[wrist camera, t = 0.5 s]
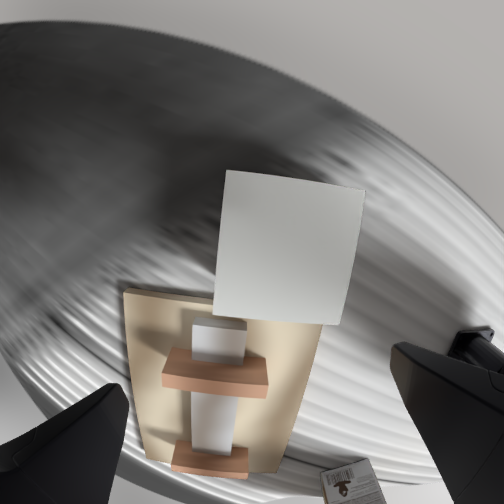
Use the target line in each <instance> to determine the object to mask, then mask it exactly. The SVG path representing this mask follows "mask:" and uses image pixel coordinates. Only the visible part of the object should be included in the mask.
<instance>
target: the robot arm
mask: <svg viewBox="0 0 504 504" xmlns="http://www.w3.org/2000/svg"><path fill="white" fill-rule="evenodd" d="M493 336H494V330H493V329H483V330H470V331H460V332H458V334H457V335H456V338H455V340H454V343H453V345H452V347H451V350H450V352H449V354H448V357H447V356H444V355H441V354H438V353H435V352H433V351H430V350H427V349H424V348H421V347H418V346H415V345H413V344H410V343H407V342H400V343H397V344H394V345H393V346H392V349H391V359H390V370H391V373H392V375H393V378H394V380H395V382H396V385H397V387H398V390H399V392H400V395H401V397H402V400H403V402H404V405H405V407H406V409H407V411H408V413H409V414H410V416H411V418H412V420H413V422H414V424H415V426H416V427H417V429H418V431H419V433H420V435H421V437H422V439H423V441H424V443H425V444H426V446H427V448H428V450H429V452H430V454H431V456H432V458H433V460H434V462H435V464H436V466H437V468H438V470H439V472H440V474H441V476H442V478H443V481H444V483H445V485H446V487H447V489H448V491H449V493H450V495H451V498H452V500H453V501H454V504H504V353H503V352H502V351H501V350H500V349H498V348H497V347H496V346H495V345H493V344H492V343H491V340H492V338H493ZM128 412H129V401H128V399H127V397H126V395H125V393H124V391H123V389H122V387H121V386H120V385H119V384H118V383H108V384H106V385H104V386H103V387H101V388H100V389H98V390H96V391H95V392H93V393H92V394H90V395H88V396H87V397H85V398H83V399H82V400H80V401H79V402H77V403H75V404H74V405H72V406H70V407H69V408H67V409H65V410H64V411H62V412H60V413H59V414H57V415H55V416H54V417H52V418H50V419H49V420H47V421H45V422H44V423H42V424H40V425H39V426H37V427H35V428H33V429H32V430H30V431H29V432H26V433H25V434H23V435H21V436H19V437H17V438H15V439H13V440H11V441H9V442H7V443H5V444H2V445H0V504H108V501H109V496H110V492H111V488H112V484H113V480H114V476H115V472H116V468H117V464H118V460H119V456H120V453H121V449H122V445H123V441H124V436H125V429H126V423H127V418H128Z"/></svg>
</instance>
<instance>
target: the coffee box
mask: <svg viewBox="0 0 504 504" xmlns="http://www.w3.org/2000/svg"><path fill="white" fill-rule="evenodd" d="M320 477H321V485H322V492H323V498H324V502H325V504H387V503H386V501H385V498H384V496H383V493H382V490H381V488H380V485H379V483H378V481H377V478H376V475H375V473H374V470H373V468H372V465H371V463H370V461H369V459H365V460H362V461H359V462H356V463H352V464H349V465H346V466H343V467H340V468H336V469H332V470H329V471H325V472H321V473H320Z"/></svg>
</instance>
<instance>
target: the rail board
mask: <svg viewBox="0 0 504 504" xmlns="http://www.w3.org/2000/svg"><path fill="white" fill-rule="evenodd" d="M123 297H124V315H125V329H126V340H127V350H128V359H129V367H130V375H131V382H132V389H133V395H134V401H135V407H136V412H137V418H138V423H139V428H140V432H141V437H142V441H143V446H144V450H145V454H146V458H147V459H151V460H155V461H160V462H165V463H170V464H171V469H172V471H176V472H182V473H189V474H195V475H203V476H211V477H221V478H234V479H247V478H248V474H249V473H277V470H278V468H279V465H280V463H281V460H282V457H283V454H284V452H285V449H286V446H287V443H288V441H289V438H290V435H291V432H292V429H293V426H294V423H295V420H296V417H297V414H298V411H299V408H300V405H301V401H302V398H303V395H304V392H305V388H306V385H307V381H308V378H309V375H310V371H311V367H312V364H313V360H314V357H315V353H316V349H317V345H318V341H319V337H320V333H321V329H322V325H323V324H309V323H294V322H280V321H268V320H257V319H247V318H237V317H227V316H219V315H212V314H213V301H214V299H208V298H199V297H192V296H184V295H176V294H169V293H162V292H155V291H148V290H142V289H135V288H129V287H128V288H127V289H126V290H125V291H124V292H123Z"/></svg>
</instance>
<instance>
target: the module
mask: <svg viewBox="0 0 504 504" xmlns="http://www.w3.org/2000/svg"><path fill="white" fill-rule="evenodd" d="M365 193H366V191H364V190H359V189H354V188H349V187H343V186H338V185H332V184H327V183H321V182H315V181H308V180H302V179H296V178H289V177H282V176H274V175H267V174H259V173H251V172H242V171H233V170H226V178H225V187H224V196H223V205H222V214H221V224H220V233H219V244H218V254H217V265H216V276H215V288H214V301H213V314H212V315H219V316H227V317H237V318H247V319H257V320H268V321H280V322H294V323H309V324H326V325H339V323H340V320H341V316H342V312H343V308H344V304H345V299H346V295H347V291H348V287H349V282H350V278H351V273H352V268H353V263H354V258H355V253H356V248H357V243H358V237H359V231H360V226H361V220H362V213H363V207H364V200H365Z"/></svg>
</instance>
